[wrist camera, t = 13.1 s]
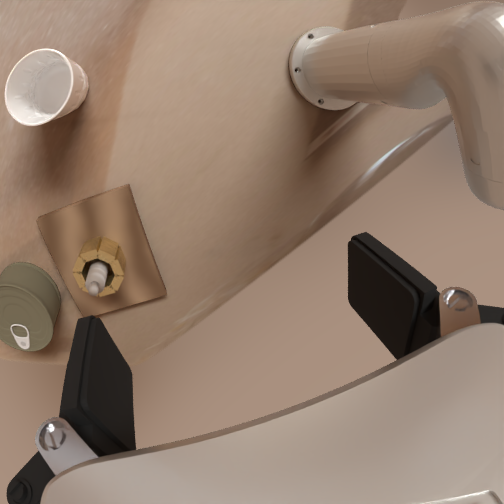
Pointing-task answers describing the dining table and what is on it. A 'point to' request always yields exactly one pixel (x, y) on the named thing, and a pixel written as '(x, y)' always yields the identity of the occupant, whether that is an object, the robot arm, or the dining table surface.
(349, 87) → the robot arm
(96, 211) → the post block
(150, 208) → the dining table surface
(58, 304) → the can
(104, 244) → the ring
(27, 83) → the white cup
